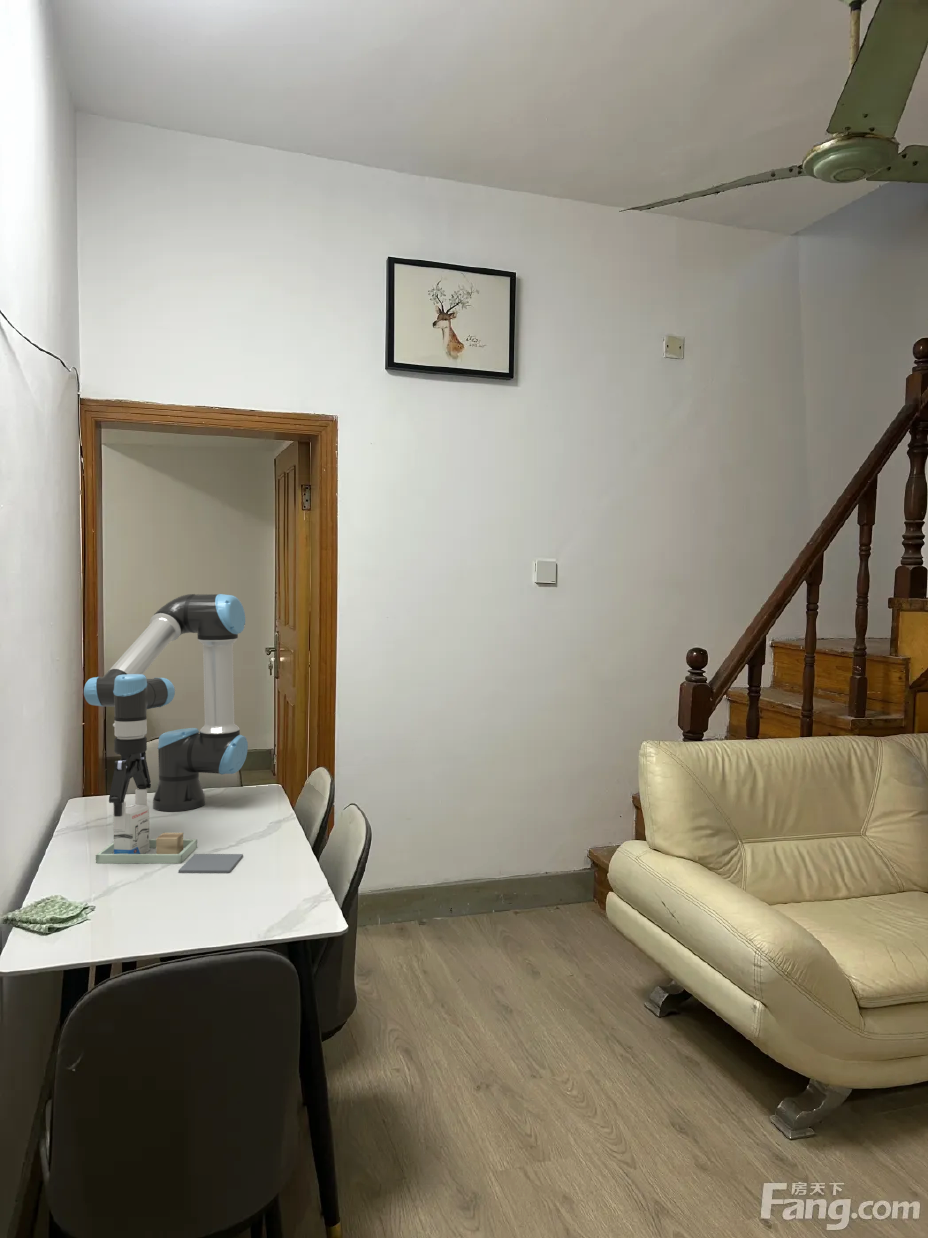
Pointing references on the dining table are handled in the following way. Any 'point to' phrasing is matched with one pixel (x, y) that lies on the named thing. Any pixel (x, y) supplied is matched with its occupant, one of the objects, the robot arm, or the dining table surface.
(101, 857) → the parts tray
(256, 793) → the dining table surface
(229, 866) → the rubber mat
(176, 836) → the kraft cube
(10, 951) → the dining table surface
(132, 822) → the ink box
